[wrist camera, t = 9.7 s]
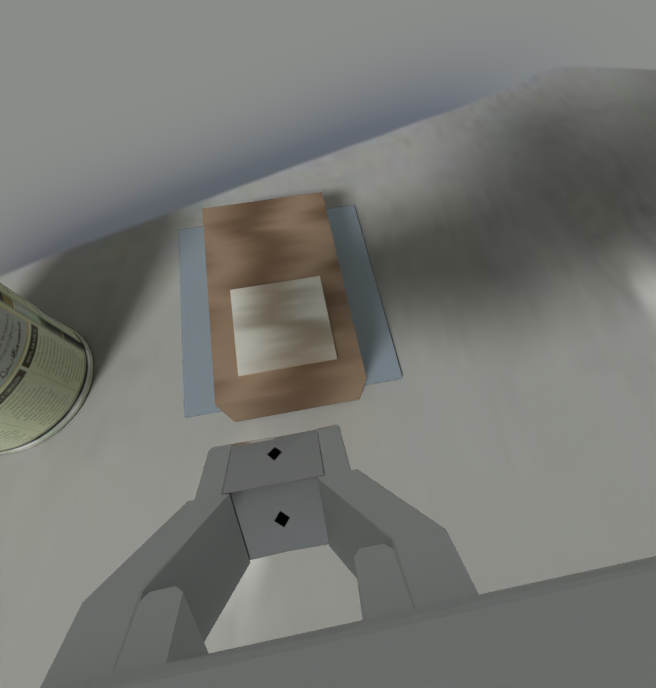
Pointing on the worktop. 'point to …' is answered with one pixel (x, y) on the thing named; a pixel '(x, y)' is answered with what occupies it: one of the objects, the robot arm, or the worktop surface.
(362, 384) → the cardboard box
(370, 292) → the mat
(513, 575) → the worktop surface
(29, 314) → the coffee can
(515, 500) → the worktop surface
